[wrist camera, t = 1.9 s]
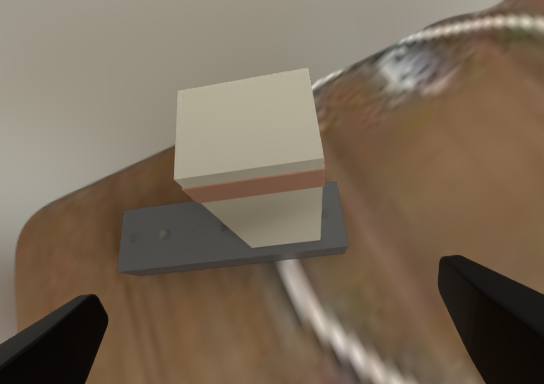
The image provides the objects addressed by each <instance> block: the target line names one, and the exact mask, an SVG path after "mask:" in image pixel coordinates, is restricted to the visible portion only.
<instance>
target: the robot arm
mask: <svg viewBox="0 0 544 384" xmlns="http://www.w3.org/2000/svg"><path fill="white" fill-rule="evenodd" d="M438 289H439V292H440V295H441V297H442V299H443V301H444V303H445V305H446V307H447V309H448V312H449V314H450V316H451V318H452V320H453V322H454V324H455V327H456V329H457V331H458V333H459V335H460V337H461V339H462V342H463V344H464V346H465V348H466V350H467V352H468V354H469V356H470V357H471V359H472V361H473V363H474V365H475V366H476V368H477V370H478V371H479V373H480V375H481V376H482V378H483V380H484V381H485V383H486V384H544V294H541V293H539V292H537V291H535V290H533V289H531V288H529V287H527V286H525V285H522V284H520V283H518V282H516V281H514V280H512V279H510V278H508V277H505V276H503V275H501V274H499V273H497V272H495V271H493V270H491V269H489V268H486V267H484V266H482V265H480V264H478V263H476V262H474V261H472V260H469V259H467V258H465V257H463V256H461V255H452V256H444V257H442V258H441V259H440V262H439V273H438ZM107 325H108V315H107V313H106V311H105V309H104V307H103V305H102V304H101V302H100V300H99V298H98V297H97V296H96V295H94V294H89V295H81V296H78V297H76V298H74V299H73V300H71V301H70V302H68V303H66V304H65V305H63V306H61V307H60V308H58V309H57V310H55V311H53V312H52V313H50V314H49V315H47V316H45V317H44V318H42V319H40V320H39V321H37V322H36V323H34V324H32V325H31V326H29V327H28V328H26V329H24V330H23V331H21V332H19V333H18V334H16V335H15V336H13V337H12V338H10V339H8V340H7V341H5V342H3V343H2V344H0V384H85V382H86V380H87V377H88V375H89V372H90V370H91V367H92V365H93V362H94V359H95V357H96V354H97V352H98V349H99V346H100V344H101V341H102V339H103V336H104V333H105V331H106V328H107Z"/></svg>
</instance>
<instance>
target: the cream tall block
mask: <svg viewBox="0 0 544 384" xmlns="http://www.w3.org/2000/svg"><path fill="white" fill-rule="evenodd" d="M325 171H326V169H325V163H324V156H323V150H322V144H321V138H320V133H319V127H318V121H317V116H316V110H315V104H314V98H313V93H312V87H311V81H310V76H309V70H308V68H304V69H298V70H293V71H287V72H282V73H276V74H270V75H265V76H259V77H254V78H248V79H242V80H237V81H231V82H226V83H220V84H214V85H209V86H203V87H198V88H192V89H186V90H180V91H178V99H177V121H176V143H175V166H174V180H175V181H176V182H177V183H178V184H179V185H180V186H182V191H184V192H185V193H186V194H187V195H188V196H189V197H191V198H192V199H193V200H194V201H195V202H197V203H201V204H202V205H203V206H204V207H206V208H207V209H208V210H209V211H210V212H211V213H212V214H214V215H215V216H216V217H217V218H218V219H219V220H220V221H222V222H223V223H224V224H225V225H226V226H227V227H228V228H230V229H231V230H232V231H233V232H234V233H235V234H236V235H238V236H239V237H240V238H241V239H242V240H243V241H245V242H246V243H247V244H248V245H249V246H250V247H251V248H256V247H265V246H273V245H282V244H290V243H299V242H307V241H316V240H320V237H321V214H322V191H323V186H325Z"/></svg>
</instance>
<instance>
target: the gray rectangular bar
mask: <svg viewBox="0 0 544 384" xmlns="http://www.w3.org/2000/svg"><path fill="white" fill-rule="evenodd" d="M347 248H348V241H347V236H346V230H345V225H344V220H343V214H342V209H341V204H340V198H339V193H338V188H337V182H328V183H325V186H323V191H322V214H321V237H320V240H316V241H307V242H299V243H290V244H282V245H273V246H265V247H256V248H251V247H250V246H249V245H248V244H247V243H246V242H245V241H243V240H242V239H241V238H240V237H239V236H238V235H236V234H235V233H234V232H233V231H232V230H231V229H230V228H228V227H227V226H226V225H225V224H224V223H223V222H222V221H220V220H219V219H218V218H217V217H216V216H215V215H214V214H212V213H211V212H210V211H209V210H208V209H207V208H206V207H204V206H203V205H202V204H201V203H197V202H195V201H189V202H182V203H175V204H167V205H160V206H153V207H145V208H138V209H131V210H124V214H123V223H122V232H121V241H120V250H119V259H118V268H117V272H118V273H124V274H130V275H137V276H145V275H154V274H163V273H172V272H181V271H190V270H199V269H208V268H217V267H226V266H235V265H244V264H253V263H262V262H271V261H280V260H289V259H298V258H307V257H316V256H325V255H334V254H343V253H345V252H346V250H347Z"/></svg>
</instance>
